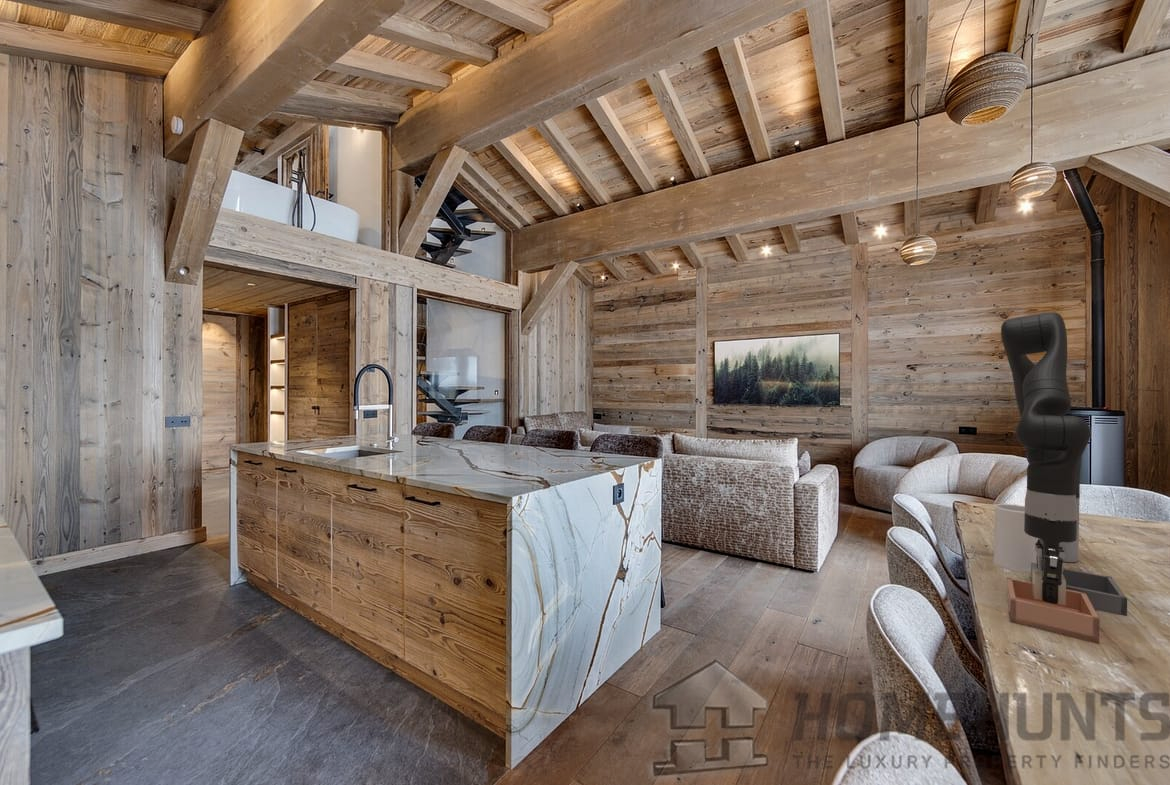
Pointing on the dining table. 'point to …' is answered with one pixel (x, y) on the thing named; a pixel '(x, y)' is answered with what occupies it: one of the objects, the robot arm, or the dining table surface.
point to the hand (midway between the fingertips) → (1048, 597)
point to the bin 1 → (1053, 612)
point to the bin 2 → (1095, 590)
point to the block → (1038, 586)
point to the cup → (1012, 539)
